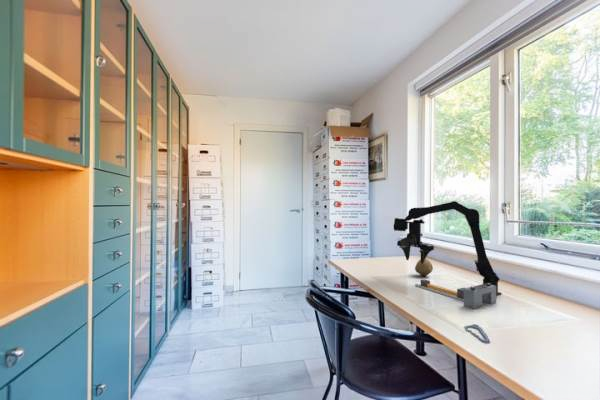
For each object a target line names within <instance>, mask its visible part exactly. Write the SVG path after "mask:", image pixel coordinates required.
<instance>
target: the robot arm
mask: <svg viewBox="0 0 600 400" xmlns="http://www.w3.org/2000/svg"><path fill="white" fill-rule="evenodd" d="M451 210H454V211H456V212H458V213H459V214H462V215H464V218H465V220H466V222H467V224H468V226H469V228H470V233H471V237H472V241H473V244H474V245H473V246H474V248H475V249H474V250H475V252H476V257H477V258H476V260H473V262H474V263H475V270H476V272H478V274H479V275H480V276H481V277H483V278H482V284H486V283H491V285H494V286H496V296H499V295H503V293H502V292H500V291H499V281H500V278H499V276H498V274H497V273H496V272H495V271H494V270H493V267H492V265H491V263H490V260H489V258H488V256H487V253H486V249H485V245H484V244H485V243H484V240H483V237H482V232H481V228H480V221H481V220H480V213H479V211H478V210H477V209H474V208H468V207H466V206H464V205H463V204H460V203H459V202H458V201H456V200H453V201H449V202H445V203H442V204H441V203H440V204H435V205H432V206H424V207H411V208H410V209H409V211H408V214H407V216H405V217H404V218H398V217H395V218H394V222H393V230H394V232H406V231H407V230H408V233H407V234H406V236H405V237H403V238H401V239H400V240H398V241H397V243H396V245H397V246H398V247H399V248H400V249H402V251H403V253H404V256H405V260H406V261H409V260H410V259H409V258H410V253H411V247H414V248H419V251H418V252H419V253H420V260H421V263H423V262H424V260H425V259H427V256H428V255H429V253H431V252H432V251H434V250H435V247H434V245H433V244H432V243H423V241H421V240H422V239H421V238H422V237H423V233H421V232H422V230H421V227H422V226H421V225H422V224H425V223H426V222H425V221H424V220H423V219H422V217H424V216H427V215H431V214H435V213H441V212H445V211H451ZM411 220H412V221H411Z"/></svg>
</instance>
